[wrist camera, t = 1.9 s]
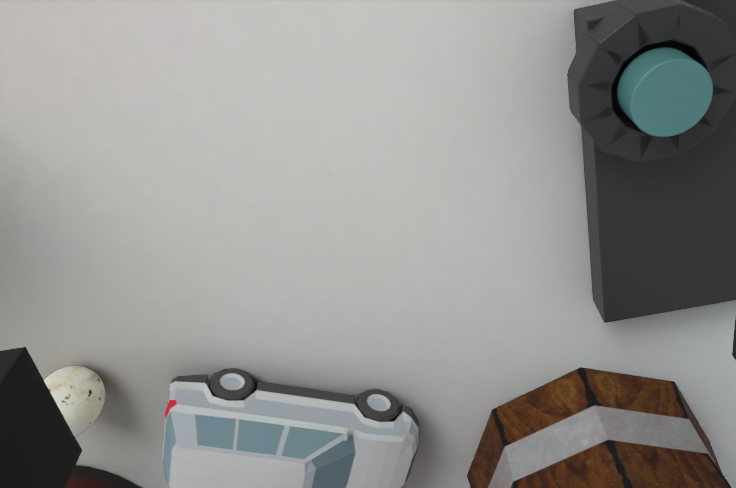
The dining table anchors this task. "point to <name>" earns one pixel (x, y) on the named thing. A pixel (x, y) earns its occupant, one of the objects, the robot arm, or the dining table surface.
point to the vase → (95, 479)
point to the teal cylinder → (664, 92)
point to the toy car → (283, 436)
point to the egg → (77, 396)
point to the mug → (596, 437)
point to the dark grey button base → (657, 161)
